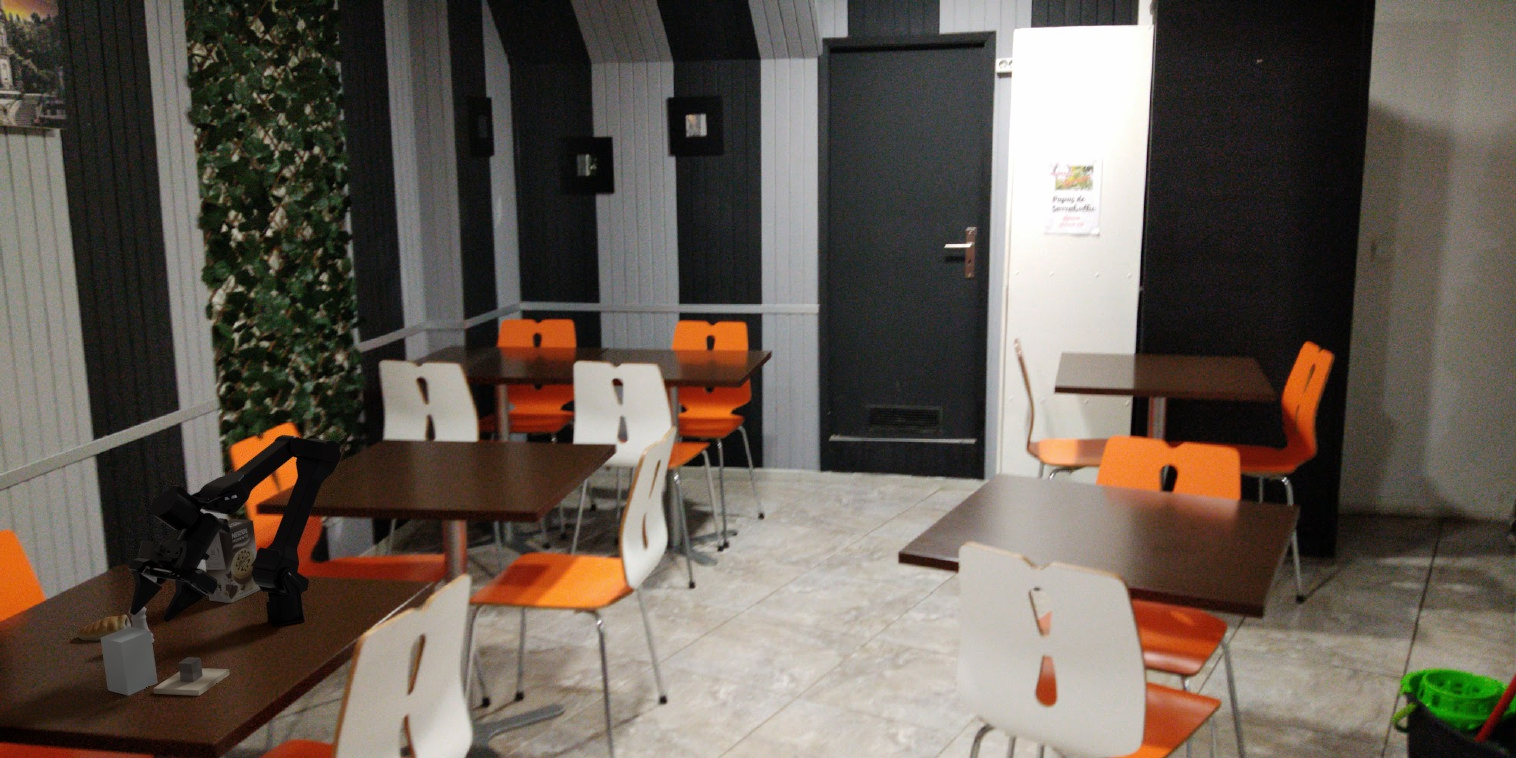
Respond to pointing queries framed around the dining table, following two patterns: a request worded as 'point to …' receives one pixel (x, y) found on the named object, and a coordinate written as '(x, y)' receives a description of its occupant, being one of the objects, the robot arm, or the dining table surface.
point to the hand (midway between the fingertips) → (148, 617)
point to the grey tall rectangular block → (129, 660)
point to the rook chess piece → (140, 620)
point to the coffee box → (233, 562)
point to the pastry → (103, 627)
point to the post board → (191, 686)
